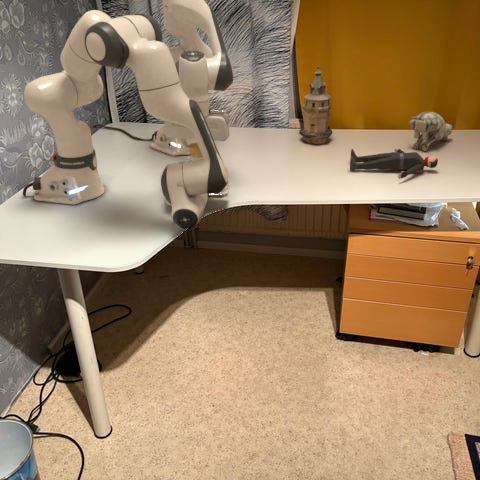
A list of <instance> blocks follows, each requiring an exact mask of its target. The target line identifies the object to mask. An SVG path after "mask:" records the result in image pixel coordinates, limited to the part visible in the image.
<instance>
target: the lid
mask: <svg viewBox="0 0 480 480" xmlns="http://www.w3.org/2000/svg"><path fill="white" fill-rule="evenodd" d="M189 153H190V154H189V155H190V156H191V155H202V153H201V151H200V148H199V146H198V144H197V143H192V144H190V145H189Z"/></svg>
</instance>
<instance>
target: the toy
mask: <svg viewBox="0 0 480 480" xmlns="http://www.w3.org/2000/svg"><path fill="white" fill-rule="evenodd" d="M438 161H439V159H438V157H436V156H432V155H431V156H426V157H425V158H423V157H422V156H421V155H420V153H418V152H416V151H413V152H405V151H403V150H402V149H401V148H394V150H393V151H391V152H384V153H377V154H368V155H362V156H361V155H360V156H358V155H357V154H356V152H355V150H354V148H351V150H350V160H349V170H350V172H354V171H356V170H357V171H358V170H366V171H368V170H369V171H370V170H379V171H381V170H382V171H384V170H385V171H388V170H389V171H397V170H400V169H406V171H405V170H402V171H401V172H400V173H398V174H397V178H398V179H399V180H400V179H404V178H406V177H408V175H411V174H414V173H415V174H416V173H422V172H423V171H424V168H425V167H427V168H429V169H434V168H436V167H437V166H438V164H439V163H438Z"/></svg>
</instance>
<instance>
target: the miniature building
mask: <svg viewBox="0 0 480 480" xmlns="http://www.w3.org/2000/svg"><path fill="white" fill-rule="evenodd" d="M320 67H321V66H320V65H317V66H316V68H317V69H316V71H315V72H314V75H315V76H314V79H313V81H312V83H310V84H309V85H308V86H309V93H307V94H306V95H304V96H303V97H302V98H303V105H301V106H302V109H303V114H302V115H303V124H302V127H300V129H299V132H298V134H299V136H300V137H302V139H303V141H305V142H307V143H309V144H314V145H320V144H321V145H322V144H325V143H326V142H327V141H328V140H329V139H330V137H332V135H333V129H331V125H329V120H330V115H331V108H332V106H333V105H332V104H331V98H332V96H331V95H330V94H328V93H326V81H324V82H323V78H322V71H321V70H320Z"/></svg>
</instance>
